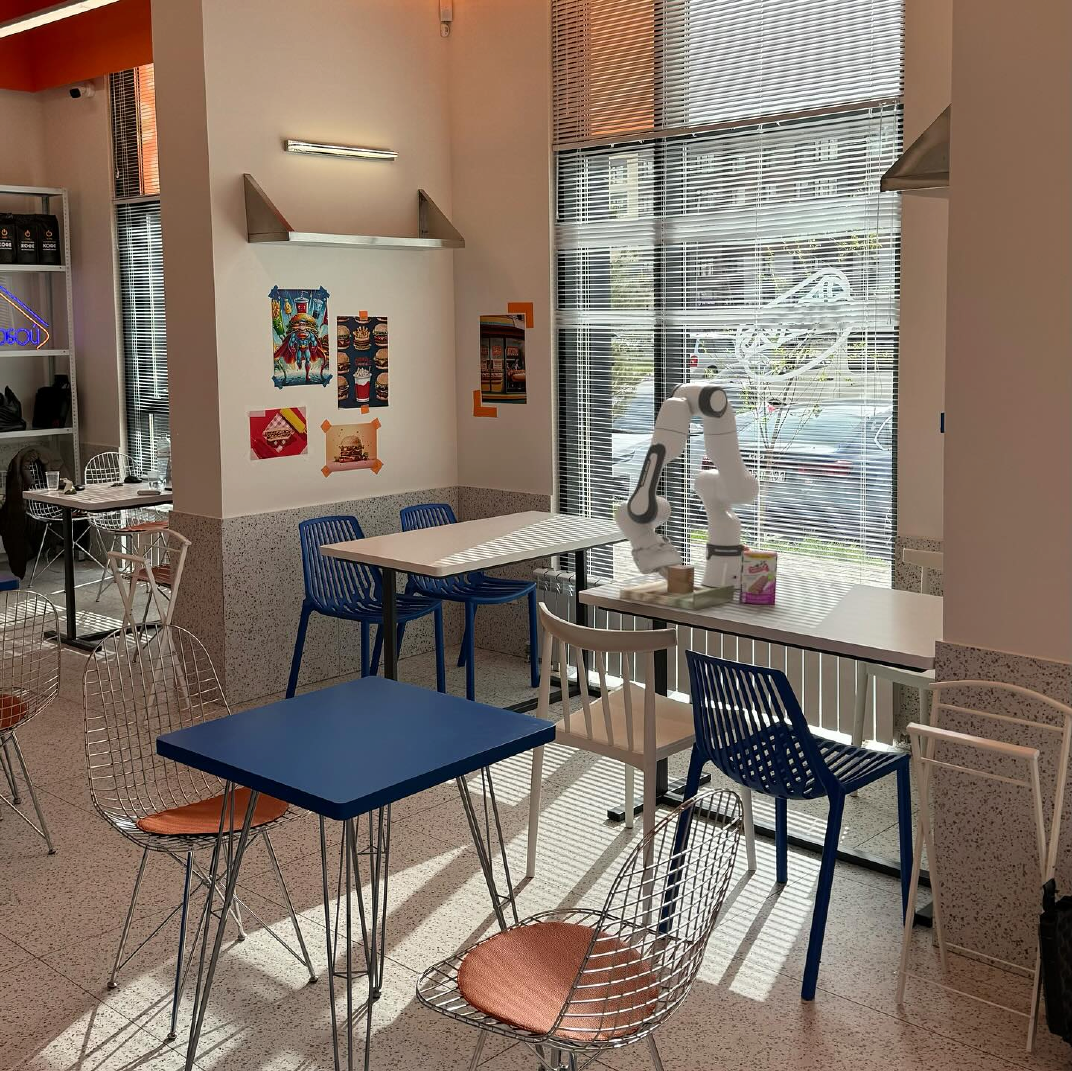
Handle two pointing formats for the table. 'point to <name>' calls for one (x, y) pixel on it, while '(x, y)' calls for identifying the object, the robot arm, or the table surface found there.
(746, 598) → the candy bar box
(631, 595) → the trap deck
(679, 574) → the walnut block
